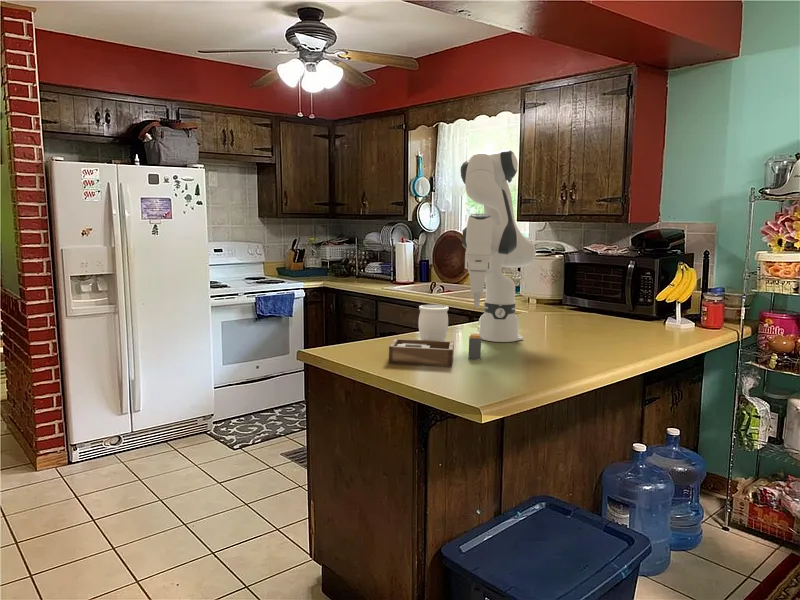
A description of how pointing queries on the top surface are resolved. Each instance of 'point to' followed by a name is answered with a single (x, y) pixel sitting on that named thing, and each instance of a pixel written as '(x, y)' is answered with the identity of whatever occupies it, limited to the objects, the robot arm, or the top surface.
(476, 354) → the block
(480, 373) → the top surface
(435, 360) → the box
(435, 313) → the jar
